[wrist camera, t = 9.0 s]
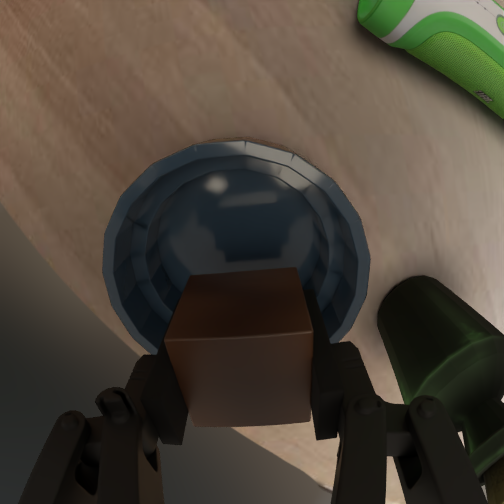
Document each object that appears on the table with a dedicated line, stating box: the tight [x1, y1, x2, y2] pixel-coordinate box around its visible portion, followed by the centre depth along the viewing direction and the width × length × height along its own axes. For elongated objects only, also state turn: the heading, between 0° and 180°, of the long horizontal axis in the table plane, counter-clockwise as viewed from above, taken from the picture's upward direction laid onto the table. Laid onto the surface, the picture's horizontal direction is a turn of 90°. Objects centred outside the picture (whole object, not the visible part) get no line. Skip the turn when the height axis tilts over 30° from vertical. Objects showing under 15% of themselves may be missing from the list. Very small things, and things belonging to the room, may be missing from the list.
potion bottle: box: [378, 276, 504, 504], centre depth 15 cm, size 8×8×18 cm
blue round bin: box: [102, 137, 371, 355], centre depth 19 cm, size 14×14×6 cm
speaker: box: [357, 0, 504, 120], centre depth 12 cm, size 18×7×8 cm, turn 72°
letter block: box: [164, 267, 314, 427], centre depth 13 cm, size 5×5×5 cm
